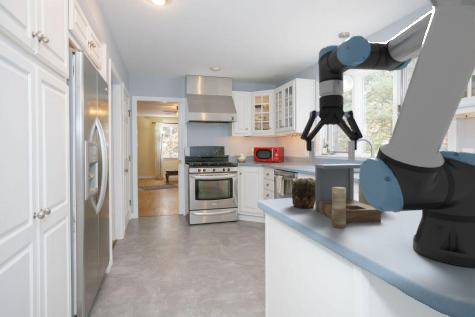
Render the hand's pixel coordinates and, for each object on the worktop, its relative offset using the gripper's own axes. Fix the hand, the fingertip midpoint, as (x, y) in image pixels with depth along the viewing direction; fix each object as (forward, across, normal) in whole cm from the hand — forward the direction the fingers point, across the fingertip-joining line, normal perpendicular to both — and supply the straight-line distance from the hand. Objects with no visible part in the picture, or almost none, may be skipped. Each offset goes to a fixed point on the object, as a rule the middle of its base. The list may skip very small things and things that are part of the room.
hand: (331, 161), depth 88 cm
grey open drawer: (+20, -8, -13) cm, 25 cm away
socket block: (+20, -8, -7) cm, 23 cm away
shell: (+20, +1, -24) cm, 31 cm away
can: (+20, -23, -16) cm, 35 cm away
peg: (+20, 0, +5) cm, 21 cm away
